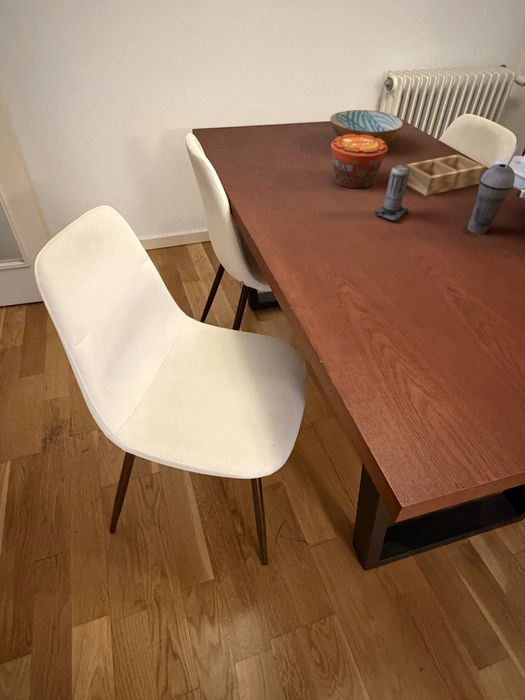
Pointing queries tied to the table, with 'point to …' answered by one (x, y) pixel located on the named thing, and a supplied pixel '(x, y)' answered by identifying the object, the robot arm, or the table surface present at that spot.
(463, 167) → the wooden divided box
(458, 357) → the table surface
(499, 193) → the beverage cup
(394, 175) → the grey column figurine
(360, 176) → the food container
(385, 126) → the bowl
